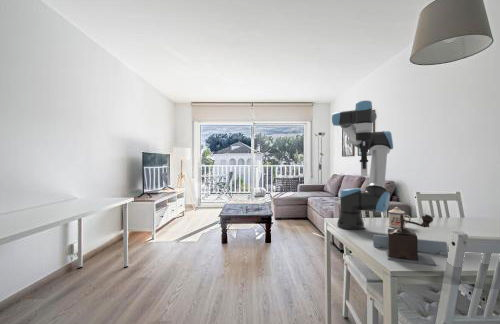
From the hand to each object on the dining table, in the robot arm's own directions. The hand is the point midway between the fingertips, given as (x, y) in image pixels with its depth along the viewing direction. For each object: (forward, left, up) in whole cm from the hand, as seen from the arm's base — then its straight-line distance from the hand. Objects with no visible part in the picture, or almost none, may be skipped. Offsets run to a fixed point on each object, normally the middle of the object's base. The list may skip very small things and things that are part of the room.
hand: (364, 175), depth 131 cm
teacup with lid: (-39, +19, -33) cm, 54 cm away
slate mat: (+18, +17, -33) cm, 41 cm away
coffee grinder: (+18, +17, -32) cm, 41 cm away
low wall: (+7, +18, -33) cm, 38 cm away
